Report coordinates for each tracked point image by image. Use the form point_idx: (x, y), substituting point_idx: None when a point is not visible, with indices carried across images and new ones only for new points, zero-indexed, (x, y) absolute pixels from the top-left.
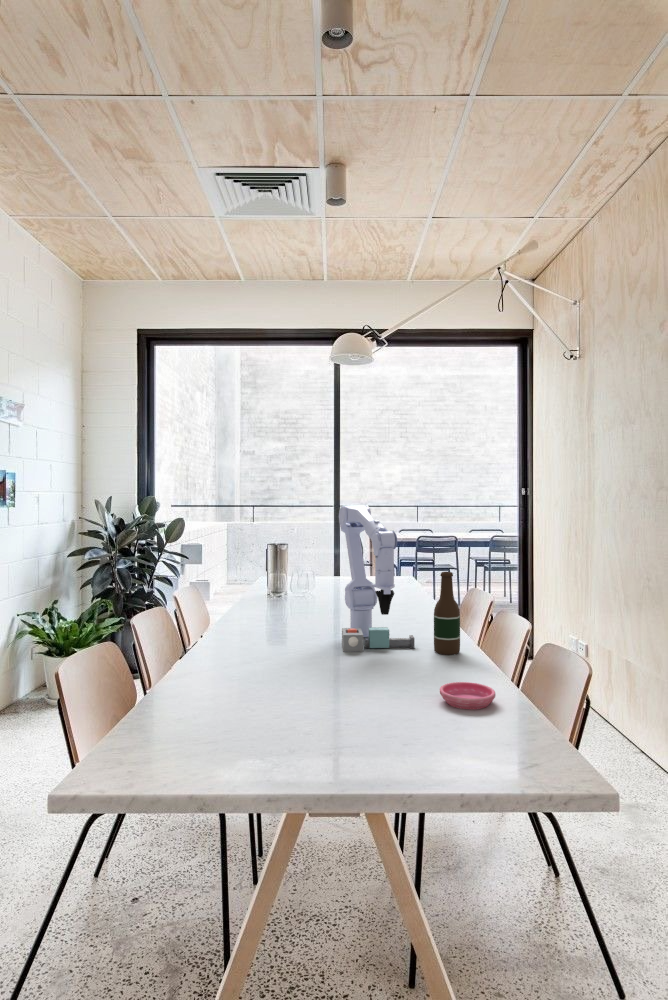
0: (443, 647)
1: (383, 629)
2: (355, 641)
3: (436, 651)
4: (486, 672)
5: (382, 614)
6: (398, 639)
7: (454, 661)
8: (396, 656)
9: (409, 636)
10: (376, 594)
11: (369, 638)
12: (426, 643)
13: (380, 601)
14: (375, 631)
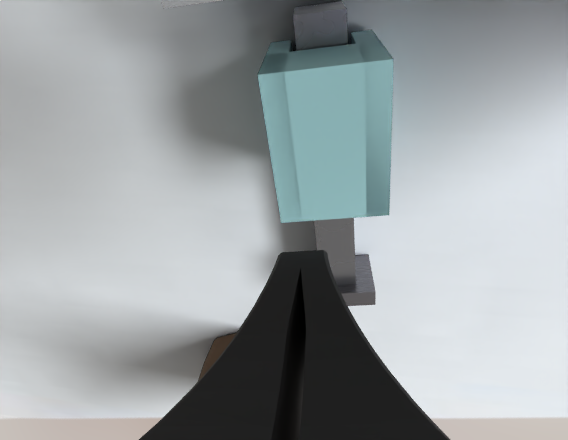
0: (202, 372)
1: (305, 186)
2: None
3: (231, 336)
4: (31, 406)
5: (279, 259)
6: (319, 233)
7: (124, 362)
8: (132, 191)
9: (366, 287)
10: (410, 434)
11: (287, 53)
12: (403, 317)
13: (213, 374)
14: (265, 122)
